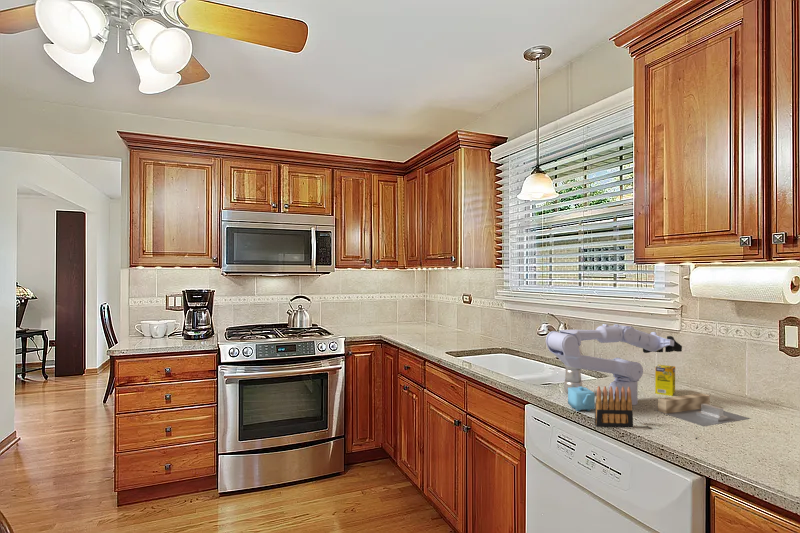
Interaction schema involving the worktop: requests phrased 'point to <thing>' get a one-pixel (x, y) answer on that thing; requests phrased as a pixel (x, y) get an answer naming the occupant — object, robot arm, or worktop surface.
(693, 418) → the charcoal board
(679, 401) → the maple batten
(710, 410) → the steel ridge
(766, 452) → the worktop surface
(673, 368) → the supplement box
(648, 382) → the worktop surface
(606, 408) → the ammunition clip
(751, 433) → the worktop surface
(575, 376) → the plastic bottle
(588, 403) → the teapot
